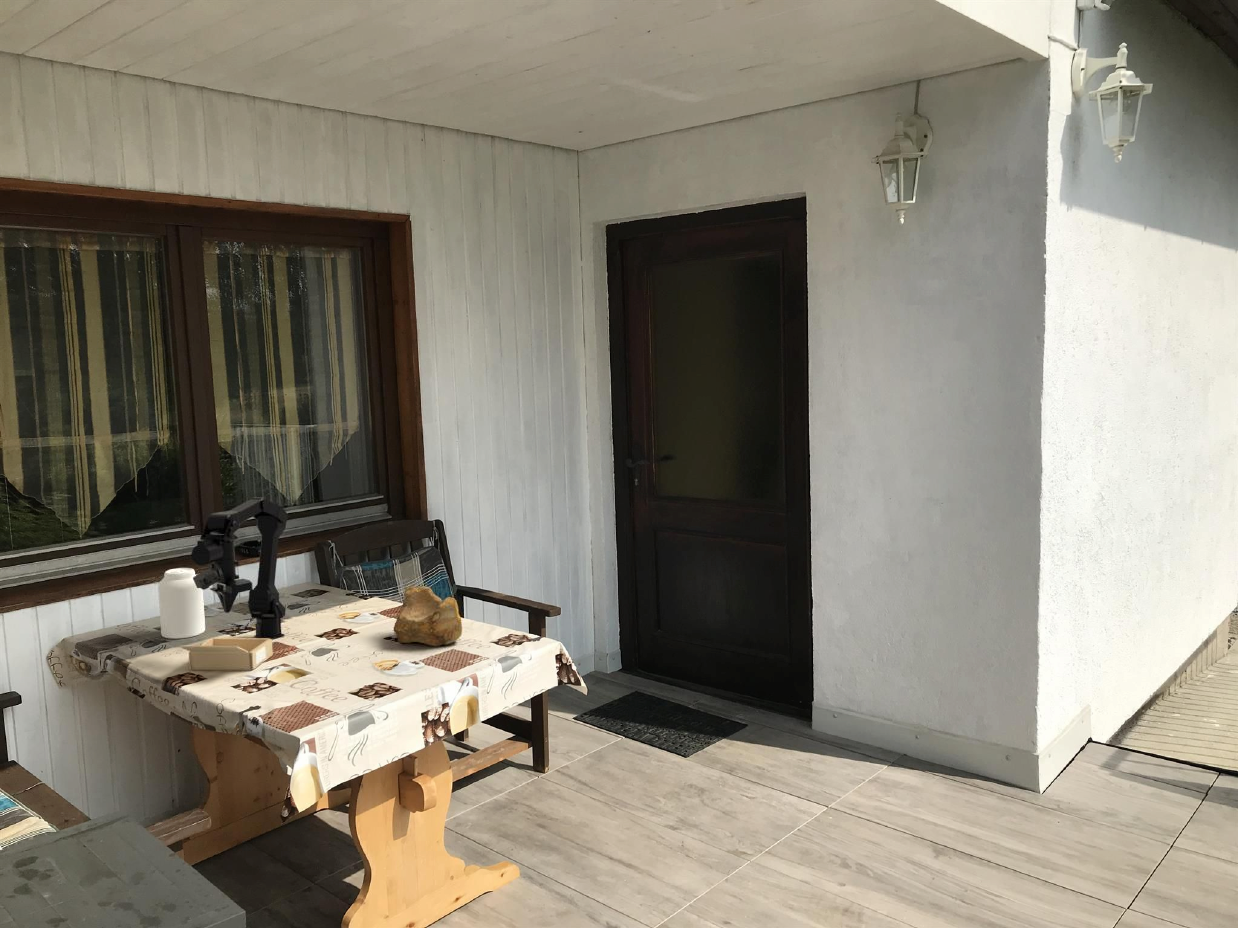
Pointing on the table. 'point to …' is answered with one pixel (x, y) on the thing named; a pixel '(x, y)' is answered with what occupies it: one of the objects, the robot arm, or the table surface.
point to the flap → (213, 649)
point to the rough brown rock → (427, 618)
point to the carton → (232, 654)
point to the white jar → (180, 604)
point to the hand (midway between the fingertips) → (227, 612)
